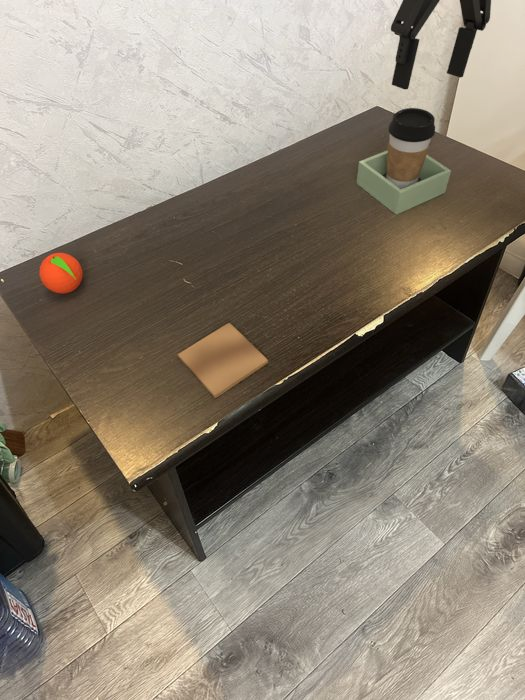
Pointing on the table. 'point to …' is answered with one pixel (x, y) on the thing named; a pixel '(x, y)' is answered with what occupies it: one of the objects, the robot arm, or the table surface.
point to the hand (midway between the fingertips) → (428, 81)
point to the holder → (405, 198)
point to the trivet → (222, 359)
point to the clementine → (61, 273)
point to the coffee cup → (408, 145)
